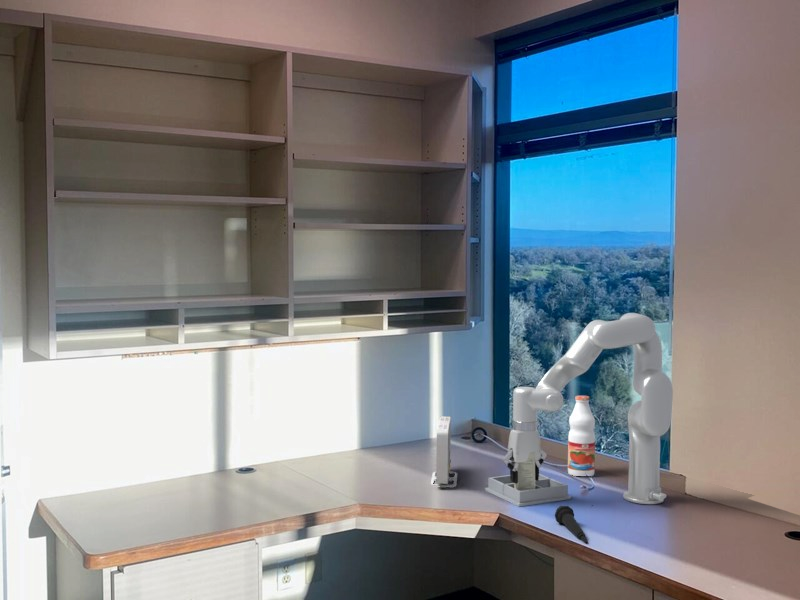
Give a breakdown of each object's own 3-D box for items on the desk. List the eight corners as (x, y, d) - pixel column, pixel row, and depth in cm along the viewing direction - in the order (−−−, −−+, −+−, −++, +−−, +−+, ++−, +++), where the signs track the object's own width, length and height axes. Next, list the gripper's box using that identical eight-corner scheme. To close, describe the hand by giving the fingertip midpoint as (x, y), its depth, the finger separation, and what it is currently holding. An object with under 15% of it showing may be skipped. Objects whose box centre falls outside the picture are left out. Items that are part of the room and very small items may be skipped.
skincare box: (533, 487, 268) (533, 449, 268) (535, 491, 264) (536, 453, 263) (513, 487, 268) (513, 449, 268) (515, 491, 264) (515, 453, 263)
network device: (433, 470, 303) (434, 415, 301) (457, 470, 302) (458, 416, 301) (429, 489, 277) (429, 430, 276) (455, 490, 276) (456, 430, 275)
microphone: (591, 554, 227) (566, 522, 246) (599, 535, 226) (572, 504, 245) (573, 549, 226) (549, 517, 245) (581, 530, 225) (556, 499, 244)
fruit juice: (591, 471, 302) (593, 394, 301) (596, 478, 293) (598, 398, 291) (565, 470, 303) (567, 394, 301) (569, 477, 293) (571, 398, 292)
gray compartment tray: (571, 498, 267) (571, 485, 267) (518, 506, 259) (519, 493, 259) (534, 483, 285) (535, 470, 285) (484, 490, 277) (485, 477, 277)
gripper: (540, 421, 272) (540, 475, 273) (495, 426, 265) (495, 481, 266) (554, 425, 265) (554, 480, 266) (508, 430, 258) (508, 487, 259)
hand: (524, 480), depth 266 cm, fingers closed on skincare box, 7 cm apart
